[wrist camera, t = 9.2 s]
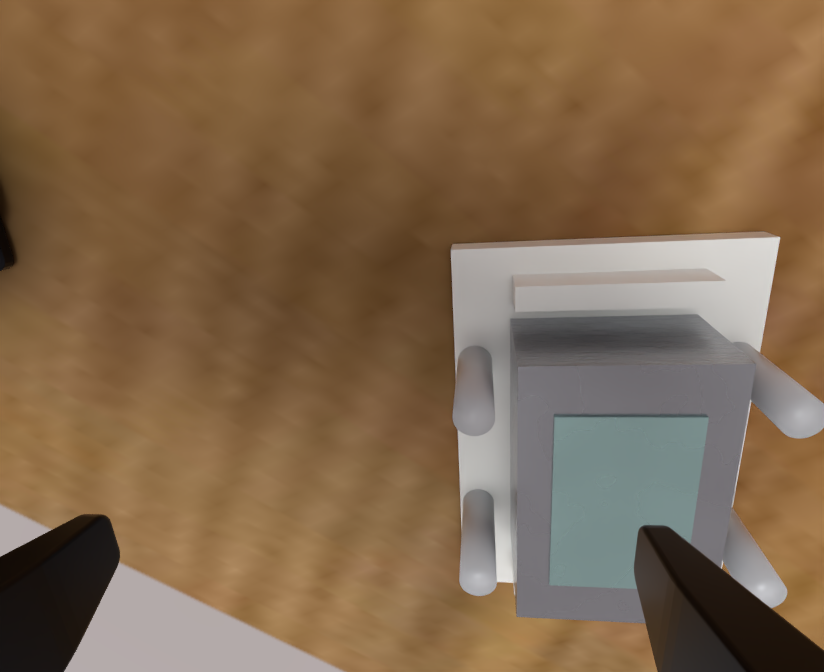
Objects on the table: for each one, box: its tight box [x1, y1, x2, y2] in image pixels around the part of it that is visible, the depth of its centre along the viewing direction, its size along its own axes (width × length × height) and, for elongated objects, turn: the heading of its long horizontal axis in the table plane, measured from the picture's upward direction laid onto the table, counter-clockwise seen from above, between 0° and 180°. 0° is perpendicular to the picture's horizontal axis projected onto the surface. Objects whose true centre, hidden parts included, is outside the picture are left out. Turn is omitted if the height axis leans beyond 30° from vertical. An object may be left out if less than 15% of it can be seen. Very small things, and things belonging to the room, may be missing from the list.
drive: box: [510, 314, 756, 623], centre depth 18 cm, size 6×9×4 cm, turn 4°
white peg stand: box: [451, 231, 824, 608], centre depth 18 cm, size 10×14×5 cm
